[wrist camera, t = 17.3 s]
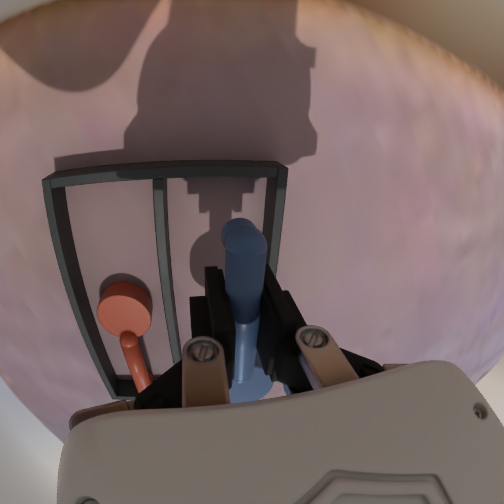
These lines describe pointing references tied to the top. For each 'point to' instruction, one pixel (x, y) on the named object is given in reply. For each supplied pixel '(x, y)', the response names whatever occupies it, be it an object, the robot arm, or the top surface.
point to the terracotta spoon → (128, 324)
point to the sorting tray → (158, 173)
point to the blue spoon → (246, 305)
